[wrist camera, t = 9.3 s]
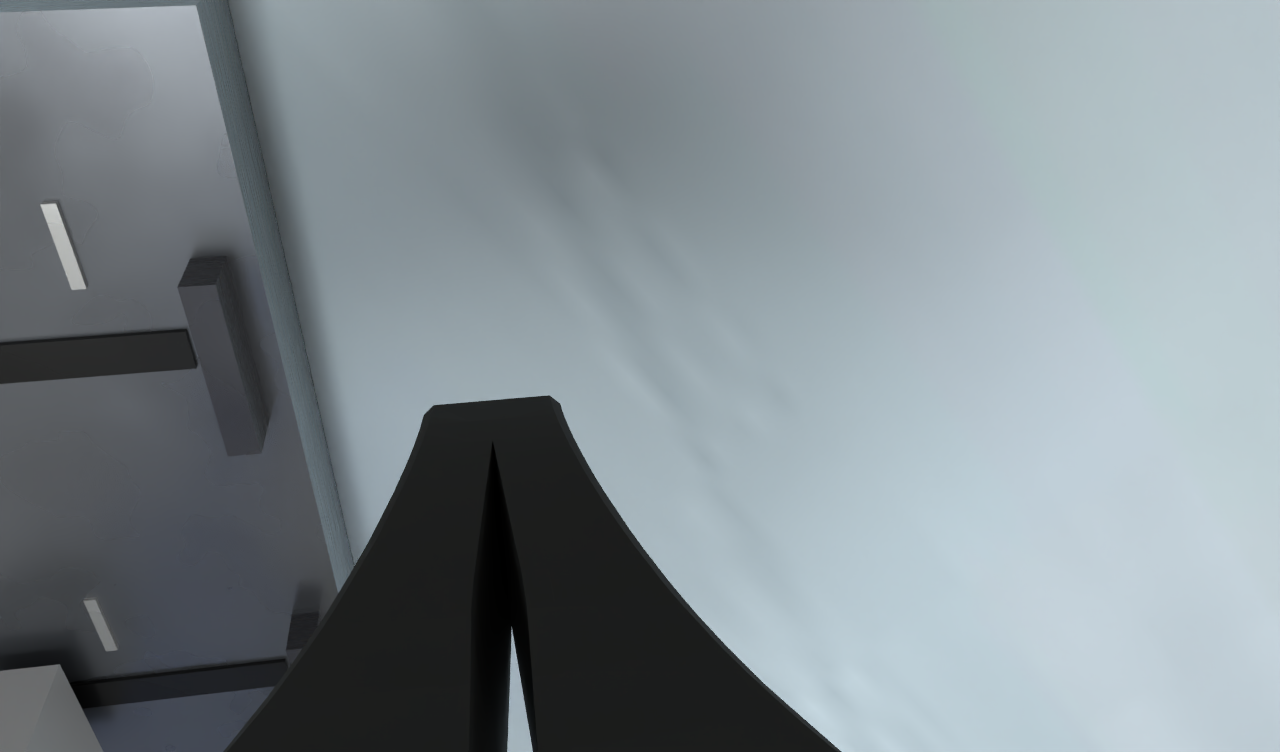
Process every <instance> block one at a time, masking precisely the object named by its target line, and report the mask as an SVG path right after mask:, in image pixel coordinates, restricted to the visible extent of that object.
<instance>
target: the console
mask: <svg viewBox="0 0 1280 752" xmlns="http://www.w3.org/2000/svg"><path fill="white" fill-rule="evenodd" d="M353 568H354V565H353V560H352V556H351V551H350V547H349V542H348V538H347V533H346V529H345V524H344V520H343V515H342V511H341V506H340V502H339V498H338V493H337V489H336V484H335V480H334V475H333V471H332V466H331V462H330V457H329V453H328V448H327V444H326V440H325V435H324V431H323V426H322V422H321V417H320V413H319V408H318V404H317V399H316V395H315V390H314V386H313V381H312V377H311V373H310V368H309V364H308V359H307V355H306V350H305V346H304V341H303V337H302V332H301V328H300V323H299V319H298V315H297V310H296V306H295V301H294V297H293V292H292V288H291V283H290V279H289V274H288V270H287V265H286V261H285V256H284V252H283V248H282V243H281V239H280V234H279V230H278V225H277V221H276V216H275V212H274V207H273V203H272V198H271V194H270V190H269V185H268V181H267V176H266V172H265V167H264V163H263V158H262V154H261V149H260V145H259V140H258V136H257V131H256V127H255V123H254V118H253V114H252V109H251V105H250V100H249V96H248V91H247V87H246V82H245V78H244V73H243V69H242V65H241V60H240V56H239V51H238V47H237V42H236V38H235V33H234V29H233V24H232V20H231V15H230V11H229V6H228V2H227V0H0V671H4V670H13V669H22V668H31V667H40V666H49V665H58V664H60V666H61V668H62V670H63V672H64V674H65V676H66V678H67V680H68V682H69V684H70V686H71V688H72V690H73V692H74V694H75V696H76V698H77V700H78V702H79V704H80V706H81V708H82V710H83V712H84V714H85V716H86V718H87V720H88V722H89V724H90V726H91V728H92V730H93V732H94V734H95V736H96V738H97V740H98V742H99V744H100V746H101V748H102V750H103V752H223V751H224V750H225V749H226V748H227V746H228V745H229V744H230V743H231V741H232V740H233V739H234V738H235V737H236V735H237V734H238V733H239V732H240V730H241V729H242V728H243V727H244V725H245V724H246V723H247V722H248V720H249V719H250V718H251V717H252V715H253V714H254V713H255V712H256V710H257V709H258V708H259V707H260V706H261V704H262V703H263V702H264V701H265V699H266V698H267V697H268V695H269V694H270V693H271V691H272V690H273V689H274V687H275V686H276V685H277V683H278V682H279V681H280V679H281V678H282V676H283V675H284V674H285V672H286V671H287V670H288V668H289V667H290V665H291V664H292V663H293V661H294V660H295V659H296V657H297V656H298V654H299V653H300V651H301V650H302V649H303V647H304V646H305V644H306V643H307V641H308V640H309V638H310V637H311V635H312V634H313V632H314V631H315V629H316V628H317V626H318V625H319V623H320V622H321V620H322V619H323V617H324V616H325V614H326V613H327V611H328V610H329V608H330V606H331V605H332V603H333V601H334V600H335V598H336V596H337V595H338V593H339V591H340V590H341V588H342V586H343V585H344V583H345V581H346V580H347V578H348V576H349V575H350V573H351V571H352V570H353Z"/></svg>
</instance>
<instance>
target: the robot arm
mask: <svg viewBox="0 0 1280 752" xmlns="http://www.w3.org/2000/svg"><path fill="white" fill-rule="evenodd" d="M511 629H512V630H513V636H514V642H515V648H516V654H517V660H518V665H519V671H520V677H521V683H522V689H523V695H524V701H525V707H526V712H527V718H528V724H529V730H530V736H531V742H532V748H533V752H841V751H840V750H839V749H838V748H836V747H835V746H834V745H833V744H832V743H831V742H830V741H828V740H827V739H826V738H825V737H824V736H823V735H822V734H820V733H819V732H818V731H817V730H816V729H815V728H814V727H813V726H811V725H810V724H809V723H808V722H807V721H806V720H805V719H803V718H802V717H801V716H800V715H799V714H798V713H797V712H795V711H794V710H793V709H792V708H791V707H790V706H789V705H787V704H786V703H785V702H784V701H783V700H782V699H781V698H780V697H778V696H777V695H776V694H775V693H774V692H773V691H772V690H770V689H769V688H768V687H767V686H766V685H765V684H764V683H763V682H762V681H761V680H760V679H759V678H758V677H757V676H756V675H755V674H754V673H753V672H752V671H751V670H750V669H749V668H748V667H747V666H746V665H745V664H744V663H743V662H742V661H741V660H740V659H739V658H738V657H737V656H736V655H735V654H734V653H733V652H732V651H731V650H730V649H729V648H728V647H727V646H726V645H725V644H724V643H723V642H722V641H721V640H720V639H719V638H718V637H717V636H716V635H715V633H714V632H713V631H712V630H711V629H710V628H709V627H708V626H707V625H706V624H705V623H704V622H703V621H702V619H701V618H700V617H699V616H698V615H697V614H696V613H695V612H694V610H693V609H692V608H691V607H690V606H689V605H688V604H687V602H686V601H685V600H684V599H683V598H682V597H681V595H680V594H679V593H678V592H677V591H676V589H675V588H674V587H673V586H672V585H671V583H670V582H669V581H668V580H667V578H666V577H665V576H664V575H663V573H662V572H661V571H660V569H659V568H658V567H657V566H656V564H655V563H654V562H653V560H652V559H651V558H650V557H649V555H648V554H647V553H646V551H645V550H644V549H643V547H642V546H641V545H640V543H639V542H638V541H637V539H636V538H635V536H634V535H633V534H632V532H631V531H630V530H629V528H628V527H627V525H626V524H625V522H624V521H623V519H622V518H621V516H620V515H619V513H618V512H617V510H616V509H615V507H614V506H613V504H612V503H611V501H610V500H609V498H608V497H607V495H606V494H605V492H604V491H603V489H602V487H601V486H600V484H599V482H598V481H597V479H596V478H595V476H594V474H593V473H592V471H591V469H590V467H589V465H588V464H587V462H586V460H585V458H584V457H583V455H582V453H581V451H580V449H579V447H578V445H577V443H576V441H575V439H574V438H573V435H572V433H571V431H570V429H569V427H568V424H567V422H566V420H565V417H564V415H563V412H562V409H561V405H560V403H558V402H557V401H556V400H555V399H553V398H552V397H551V396H538V397H526V398H514V399H503V400H491V401H479V402H468V403H456V404H444V405H434V406H433V407H432V408H431V409H430V410H429V411H428V412H427V413H426V414H425V415H424V417H423V420H422V424H421V427H420V430H419V433H418V436H417V439H416V442H415V444H414V447H413V450H412V452H411V455H410V457H409V460H408V462H407V464H406V467H405V469H404V471H403V473H402V476H401V478H400V480H399V482H398V484H397V487H396V489H395V491H394V493H393V495H392V497H391V499H390V501H389V503H388V505H387V507H386V509H385V511H384V513H383V515H382V517H381V519H380V521H379V523H378V525H377V527H376V528H375V530H374V532H373V534H372V536H371V538H370V540H369V542H368V544H367V546H366V548H365V549H364V551H363V553H362V555H361V556H360V558H359V560H358V561H357V563H356V565H355V566H354V568H353V570H352V571H351V573H350V575H349V576H348V578H347V580H346V581H345V583H344V585H343V586H342V588H341V590H340V591H339V593H338V595H337V596H336V598H335V600H334V601H333V603H332V605H331V606H330V608H329V610H328V611H327V613H326V614H325V616H324V617H323V619H322V620H321V622H320V623H319V625H318V626H317V628H316V629H315V631H314V632H313V634H312V635H311V637H310V638H309V640H308V641H307V643H306V644H305V646H304V647H303V649H302V650H301V651H300V653H299V654H298V656H297V657H296V659H295V660H294V661H293V663H292V664H291V665H290V667H289V668H288V670H287V671H286V672H285V674H284V675H283V676H282V678H281V679H280V681H279V682H278V683H277V685H276V686H275V687H274V689H273V690H272V691H271V693H270V694H269V695H268V697H267V698H266V699H265V701H264V702H263V703H262V704H261V706H260V707H259V708H258V709H257V710H256V712H255V713H254V714H253V715H252V717H251V718H250V719H249V720H248V722H247V723H246V724H245V725H244V727H243V728H242V729H241V730H240V732H239V733H238V734H237V735H236V737H235V738H234V739H233V740H232V741H231V743H230V744H229V745H228V746H227V748H226V749H225V750H224V751H223V752H507V740H508V714H509V687H510V658H511Z"/></svg>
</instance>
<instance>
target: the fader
mask: <svg viewBox="0 0 1280 752" xmlns="http://www.w3.org/2000/svg"><path fill="white" fill-rule="evenodd" d="M0 752H103V750H102V748H101V746H100V744H99V742H98V740H97V738H96V736H95V734H94V732H93V730H92V728H91V726H90V724H89V722H88V720H87V718H86V716H85V714H84V712H83V710H82V708H81V706H80V704H79V702H78V700H77V698H76V696H75V694H74V692H73V690H72V688H71V686H70V684H69V682H68V680H67V678H66V676H65V674H64V672H63V670H62V668H61V666H60V664H58V665H49V666H40V667H31V668H22V669H13V670H4V671H0Z"/></svg>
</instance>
